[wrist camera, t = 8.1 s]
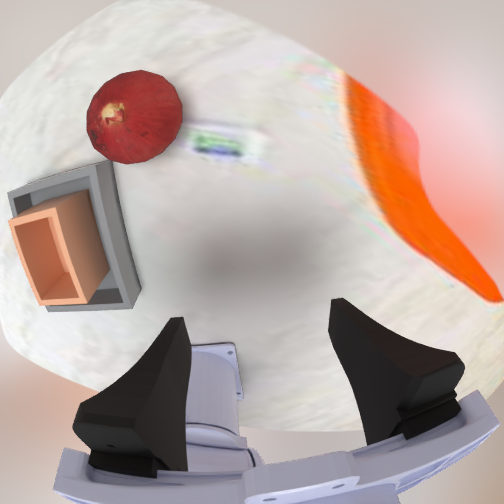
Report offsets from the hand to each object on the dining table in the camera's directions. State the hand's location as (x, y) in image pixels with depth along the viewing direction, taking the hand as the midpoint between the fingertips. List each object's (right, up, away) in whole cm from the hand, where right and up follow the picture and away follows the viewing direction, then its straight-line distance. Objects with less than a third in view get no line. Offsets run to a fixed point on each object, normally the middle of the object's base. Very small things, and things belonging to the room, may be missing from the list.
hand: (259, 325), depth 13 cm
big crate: (-15, +5, +7) cm, 17 cm away
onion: (-8, +13, +4) cm, 16 cm away
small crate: (-15, +5, +7) cm, 17 cm away
